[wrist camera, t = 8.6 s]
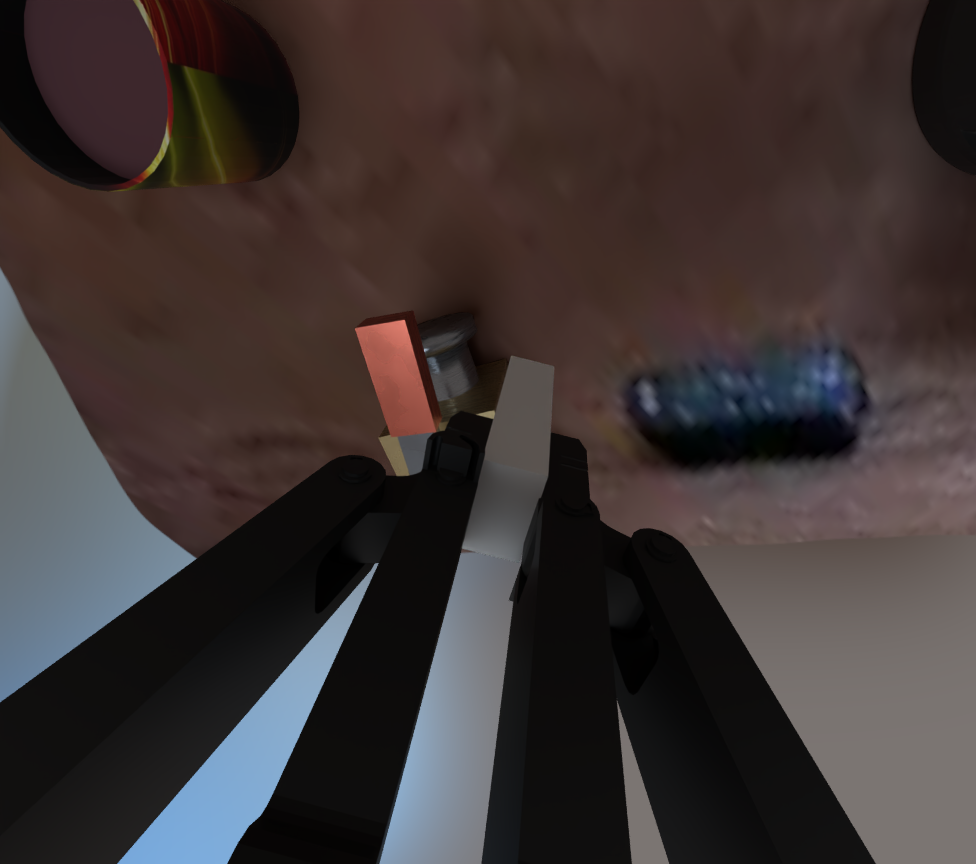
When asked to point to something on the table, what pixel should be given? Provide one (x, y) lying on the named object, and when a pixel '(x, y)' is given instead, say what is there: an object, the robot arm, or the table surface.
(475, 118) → the table surface
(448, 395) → the valve
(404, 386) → the lever
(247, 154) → the mug
